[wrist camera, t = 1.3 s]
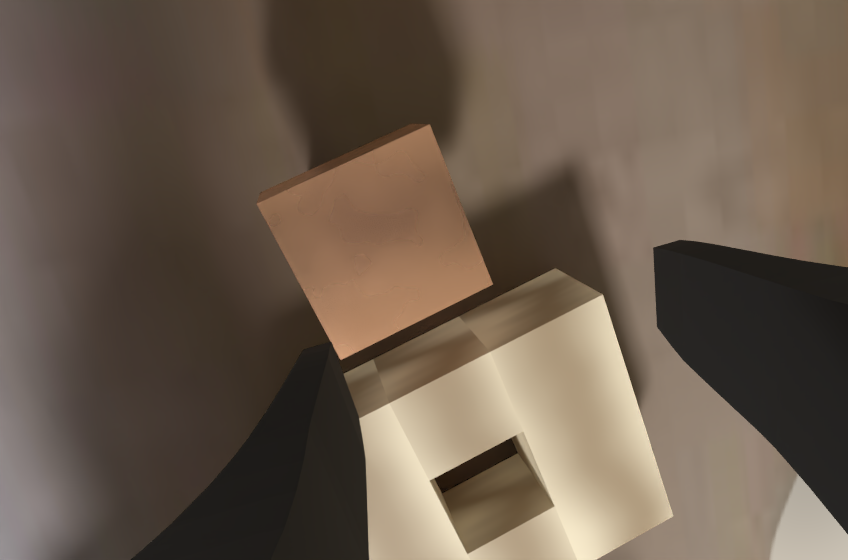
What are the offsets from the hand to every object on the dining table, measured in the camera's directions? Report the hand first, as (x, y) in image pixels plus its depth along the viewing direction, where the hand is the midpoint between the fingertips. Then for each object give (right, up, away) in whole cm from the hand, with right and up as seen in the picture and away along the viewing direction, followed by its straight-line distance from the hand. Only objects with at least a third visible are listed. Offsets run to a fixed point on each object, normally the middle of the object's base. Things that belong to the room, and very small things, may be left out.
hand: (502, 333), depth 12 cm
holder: (0, -7, +14) cm, 16 cm away
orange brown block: (-4, +4, +10) cm, 12 cm away
